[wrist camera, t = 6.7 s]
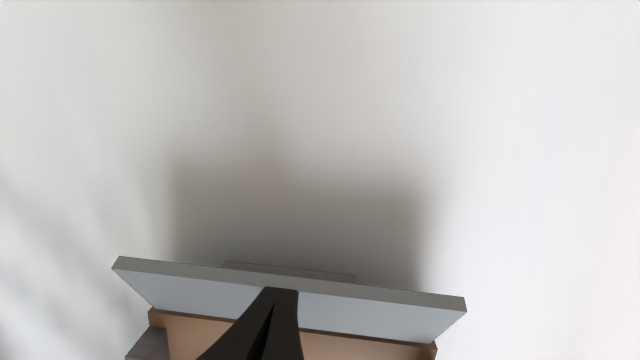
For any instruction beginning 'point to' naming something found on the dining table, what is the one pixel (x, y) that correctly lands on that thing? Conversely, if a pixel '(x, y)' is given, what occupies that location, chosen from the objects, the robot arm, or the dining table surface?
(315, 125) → the dining table surface
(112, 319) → the dining table surface
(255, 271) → the panel
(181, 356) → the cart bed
